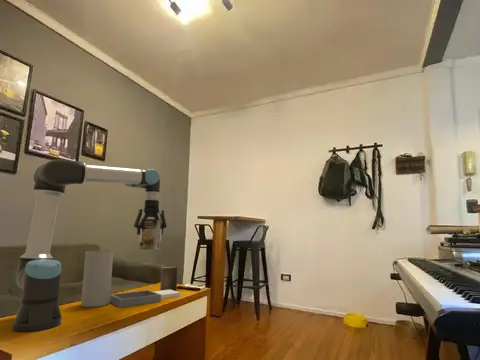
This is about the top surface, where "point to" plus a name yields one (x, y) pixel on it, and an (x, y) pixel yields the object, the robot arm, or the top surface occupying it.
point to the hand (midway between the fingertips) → (149, 241)
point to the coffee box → (150, 234)
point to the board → (168, 293)
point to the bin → (134, 298)
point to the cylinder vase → (97, 278)
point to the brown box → (168, 278)
